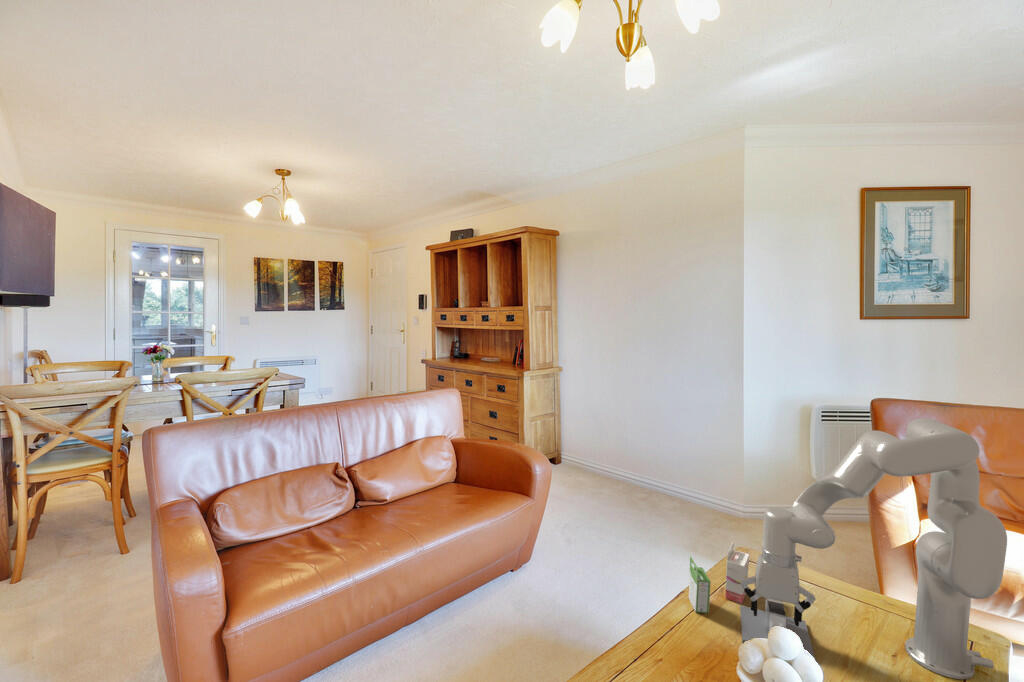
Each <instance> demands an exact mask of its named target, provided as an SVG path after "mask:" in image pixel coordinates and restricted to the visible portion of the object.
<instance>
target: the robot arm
mask: <svg viewBox="0 0 1024 682" xmlns="http://www.w3.org/2000/svg"><path fill="white" fill-rule="evenodd" d="M905 436H906V438H901V439H900V438H899V437H896V436H895V435H893V434H890V433H888V432H885V431H882V430H869V431H866V432H864V433H863V434H862V435H861V436H860V437H859V438H858V439H857V440H856V442H854V444H853V445H852V446H851V448H850V449H849V450H848V451H847V453H846V454H845V456H844V457H843V458H842V459H841V460H840V461H839V463H838V464H837V465H836V466H835V467H834V469H833V470H832V471H831V472H830V473H829V474H827V475H825V476H823V477H822V478H819V479H818V480H816V481H814V482H813V483H811V484H809V485H808V486H807V487H805V489H804V490H803V491H802V492H801V493H800V494H799V495H798V497H797V498H796V499H795V501H794V502H793V504H792V505H791V507H790V509H786V508H782V507H778V506H777V507H776V506H774V507H767V508H766V509H765V510H764V513H763V525H762V526H763V527H762V528H763V529H762V547H761V549H762V550H761V554H758V557H757V561H756V566H755V575H753V576H749V577H748V578H744V579H741V580H740V583H741V585H742V587H743V589H744V592H745V593H746V595H747V597H749V599H750V608H751V610H752V611H753V612H754V616H757V609H758V599H760V598H764V599H766V598H769V599H773V600H778V601H782V602H783V603H787V604H792V605H793V606H794V609H793V611H794V612H793V618H794V622H795V625H796V626H798V627H799V622H802V620H803V618H802V617H803V613H804V612H805V610H808V609H809V608H811V607H812V605H813V604H814V602H815V601H816V596H815V594H813V593H812V592H810V591H809V590H807V589H806V588H804V587H802V586H801V585H800V576H799V574H800V573H799V566H798V562H800V563H801V562H802V559H803V558H802V555H801V556H800V555H798V554H797V553H796V545H797V544H799V545H803V546H805V547H810V548H814V549H820V550H821V549H829V548H830V547H832V546H833V545H834V544H835V542H836V540H837V539H836V533H835V530H834V528H833V527H832V525H831V524H830V523H829V521H827V520H826V519H825V517H824V515H825V514H826V512H827V511H828V510H829V509H830V508H831V507H832V506H833V505H834V504H836V503H837V502H839V501H842V500H844V499H863V498H865V497H867V496H868V495H869V494H870V493H871V491H873V489H874V488H875V487H876V485H877V484H878V483H880V481H881V480H882V478H883V477H884V476H885V475H886V474H887V475H890V476H892V477H914V476H923V475H929V474H930V484H929V493H928V502H927V509H926V510H927V517H928V519H929V520H930V522H931V523H932V524H934V525H935V526H936V527H937V528H938V529H940V530H941V531H937V530H934V531H929V532H926V533H924V534H922V535H921V536H920V537H919V538H918V540H917V542H916V545H915V557H916V565H917V576H918V577H917V578H918V579H917V592H916V607H915V619H914V633H913V637H910V638H908V639H907V640H905V642H904V643H905V644H904V647H905V648H904V649H905V652H906V653H907V654H908V655H909V656H910V658H911V659H912V660H914V661H915V662H916V663H918V664H919V665H920V666H922V667H924V668H926V669H927V670H929V671H931V672H934V673H935V674H939V675H941V676H944V677H947V678H951V679H956V680H968V679H971V678H973V677H974V675H975V667H976V666H980V667H982V668H988V669H993V670H994V667H995V665H994V661H993V660H992V659H991V658H987V657H982V655H981V654H982V653H981V652H980V651H975V650H971V649H968V638H969V635H968V634H969V628H970V627H969V626H970V615H971V605H972V599H975V600H986V599H989V598H991V597H993V596H994V595H995V594H996V593H997V592H998V590H999V589H1000V587H1001V585H1002V581H1003V576H1004V570H1005V563H1006V555H1007V554H1006V553H1007V547H1008V533H1007V530H1006V528H1005V525H1004V524H1003V522H1002V521H1001V519H1000V518H999V517H998V516H996V515H995V514H994V513H993V512H992V511H990V510H989V509H988V508H985V507H984V506H981V504H980V481H981V480H980V479H981V478H980V477H981V476H980V470H979V466H978V464H977V460H978V457H979V455H980V445H979V442H977V439H975V438H974V437H973V436H972V435H971V434H969V433H967V432H965V431H963V430H961V429H958V428H955V427H953V426H951V425H948V424H946V423H944V422H940V421H938V420H937V419H936V420H935V419H931V418H925V417H920V418H914V419H913V420H911V421H910V422H909V423H908V425H907V426H906V429H905ZM753 584H754V587H755V588H754V589H751V588H750V587H749V585H753ZM800 594H801V595H802V596H804V597H806V598H805V599H804V600H801V601H800V597H801V596H800Z"/></svg>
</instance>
